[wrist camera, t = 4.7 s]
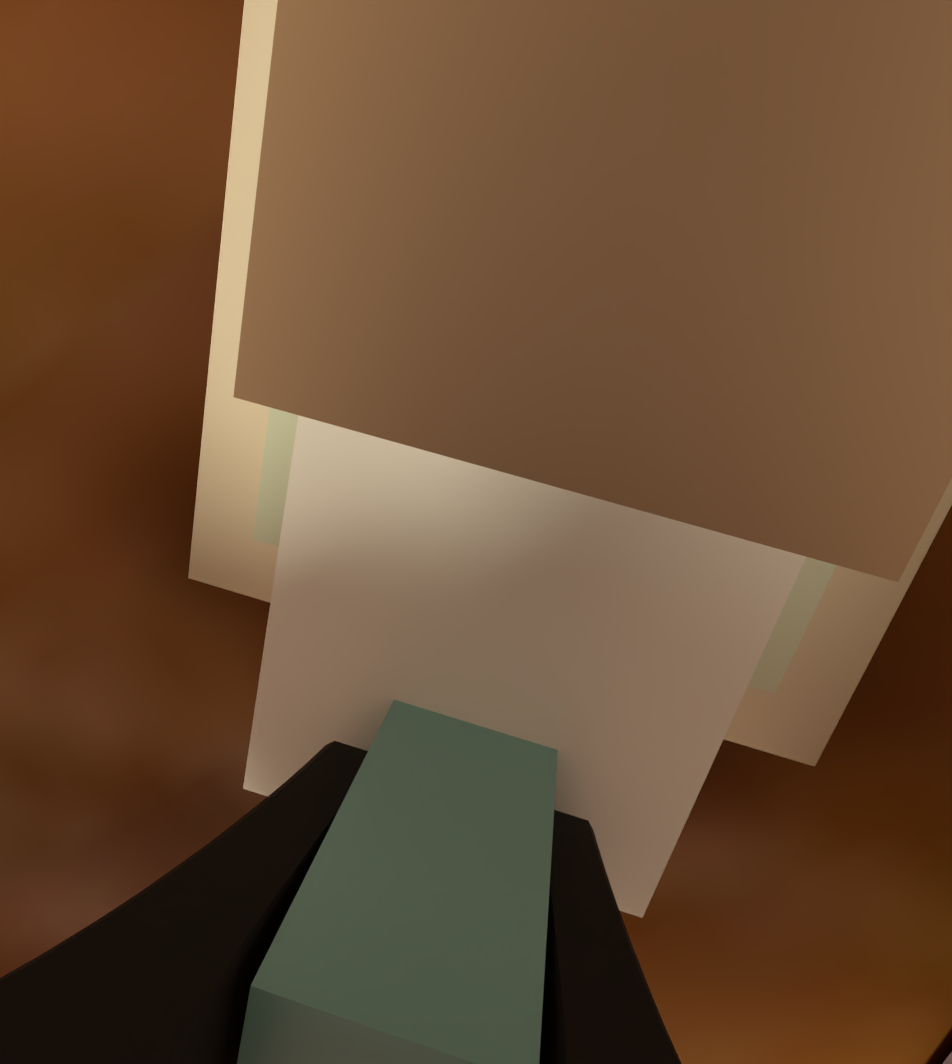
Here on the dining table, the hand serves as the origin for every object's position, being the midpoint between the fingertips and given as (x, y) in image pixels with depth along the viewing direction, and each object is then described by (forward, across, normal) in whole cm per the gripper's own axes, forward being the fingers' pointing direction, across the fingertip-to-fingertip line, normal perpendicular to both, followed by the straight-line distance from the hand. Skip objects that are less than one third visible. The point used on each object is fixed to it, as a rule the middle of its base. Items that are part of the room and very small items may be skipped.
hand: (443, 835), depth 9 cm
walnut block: (+1, 0, -8) cm, 8 cm away
